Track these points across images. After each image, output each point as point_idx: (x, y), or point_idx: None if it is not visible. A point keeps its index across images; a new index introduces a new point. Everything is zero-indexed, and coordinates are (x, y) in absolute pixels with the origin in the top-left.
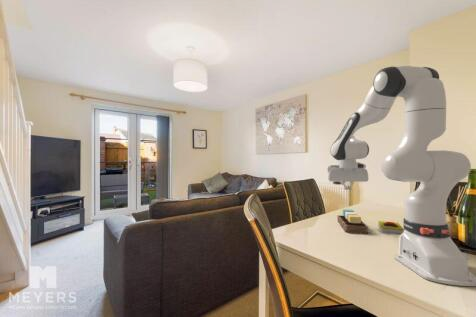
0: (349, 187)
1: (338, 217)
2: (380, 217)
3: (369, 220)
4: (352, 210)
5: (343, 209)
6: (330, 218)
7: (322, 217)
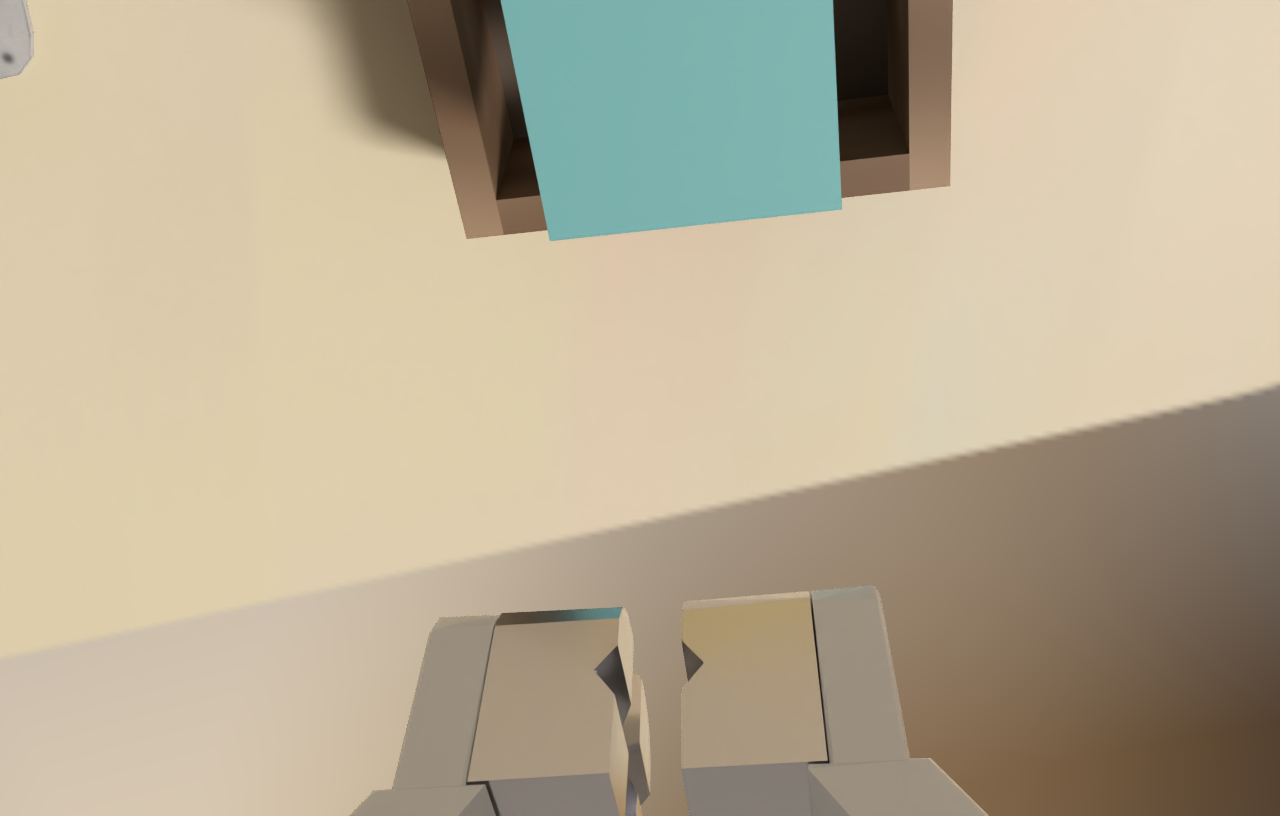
0: (551, 721)
1: (947, 35)
2: (51, 607)
3: (224, 367)
4: (546, 128)
5: (817, 195)
6: (1044, 313)
7: (1220, 349)
